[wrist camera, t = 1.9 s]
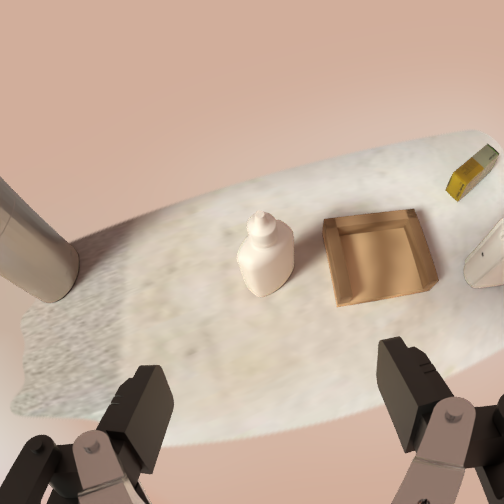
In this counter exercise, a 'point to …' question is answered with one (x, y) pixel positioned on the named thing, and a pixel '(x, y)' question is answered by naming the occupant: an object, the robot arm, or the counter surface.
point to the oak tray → (377, 256)
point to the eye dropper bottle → (266, 254)
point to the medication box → (471, 172)
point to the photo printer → (487, 260)
